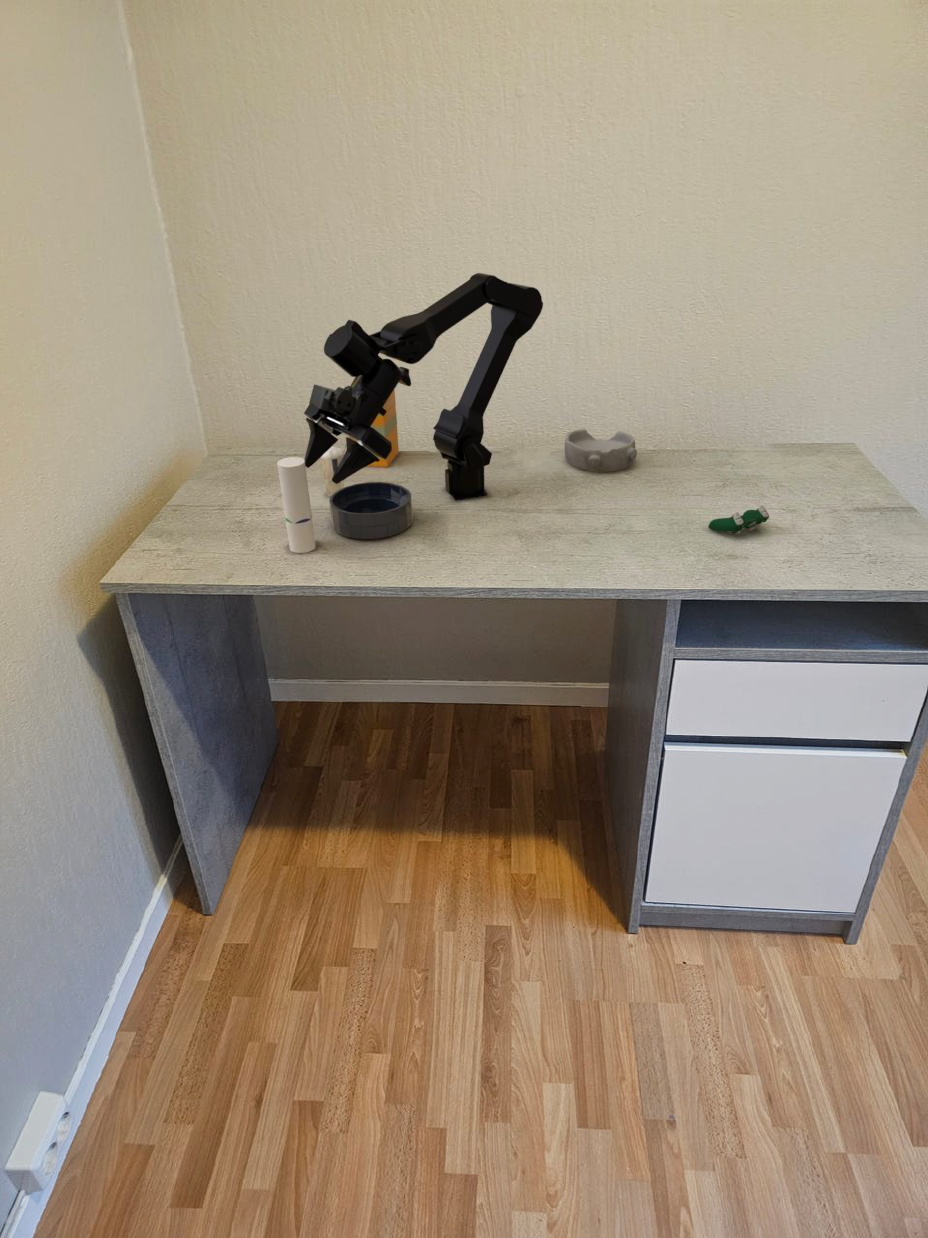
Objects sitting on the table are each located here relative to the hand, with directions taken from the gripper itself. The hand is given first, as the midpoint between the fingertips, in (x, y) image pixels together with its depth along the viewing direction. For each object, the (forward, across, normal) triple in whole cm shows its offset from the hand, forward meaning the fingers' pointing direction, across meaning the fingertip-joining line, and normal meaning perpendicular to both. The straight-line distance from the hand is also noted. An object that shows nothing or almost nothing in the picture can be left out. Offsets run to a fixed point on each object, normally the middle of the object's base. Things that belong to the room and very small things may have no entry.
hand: (319, 474), depth 136 cm
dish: (-34, +6, +51) cm, 61 cm away
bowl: (+2, 0, +15) cm, 15 cm away
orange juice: (-11, -27, +28) cm, 40 cm away
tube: (+12, 0, +5) cm, 13 cm away
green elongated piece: (-30, +43, +47) cm, 71 cm away
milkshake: (0, -15, +16) cm, 23 cm away
